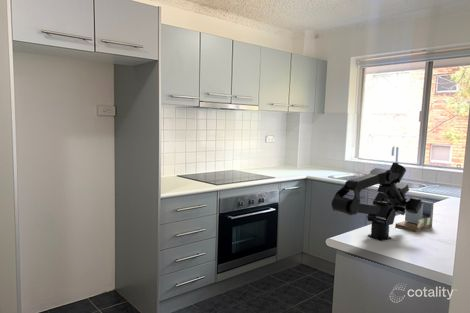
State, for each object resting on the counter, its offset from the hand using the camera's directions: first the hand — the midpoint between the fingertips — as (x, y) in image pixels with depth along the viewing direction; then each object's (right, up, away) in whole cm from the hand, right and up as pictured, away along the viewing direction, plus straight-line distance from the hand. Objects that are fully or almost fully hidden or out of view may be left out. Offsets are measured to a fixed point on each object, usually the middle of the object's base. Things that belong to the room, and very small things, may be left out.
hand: (403, 214), depth 153 cm
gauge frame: (+7, -7, +6) cm, 12 cm away
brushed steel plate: (+13, -5, +10) cm, 17 cm away
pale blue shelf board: (+9, -5, +5) cm, 11 cm away
